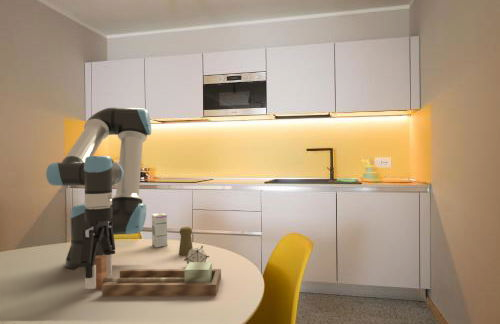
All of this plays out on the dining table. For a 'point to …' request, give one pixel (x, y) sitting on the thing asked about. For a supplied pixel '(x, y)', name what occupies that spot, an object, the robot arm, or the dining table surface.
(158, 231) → the syrup box
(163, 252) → the dining table surface
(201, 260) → the game die
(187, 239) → the cork
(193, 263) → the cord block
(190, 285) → the tray
